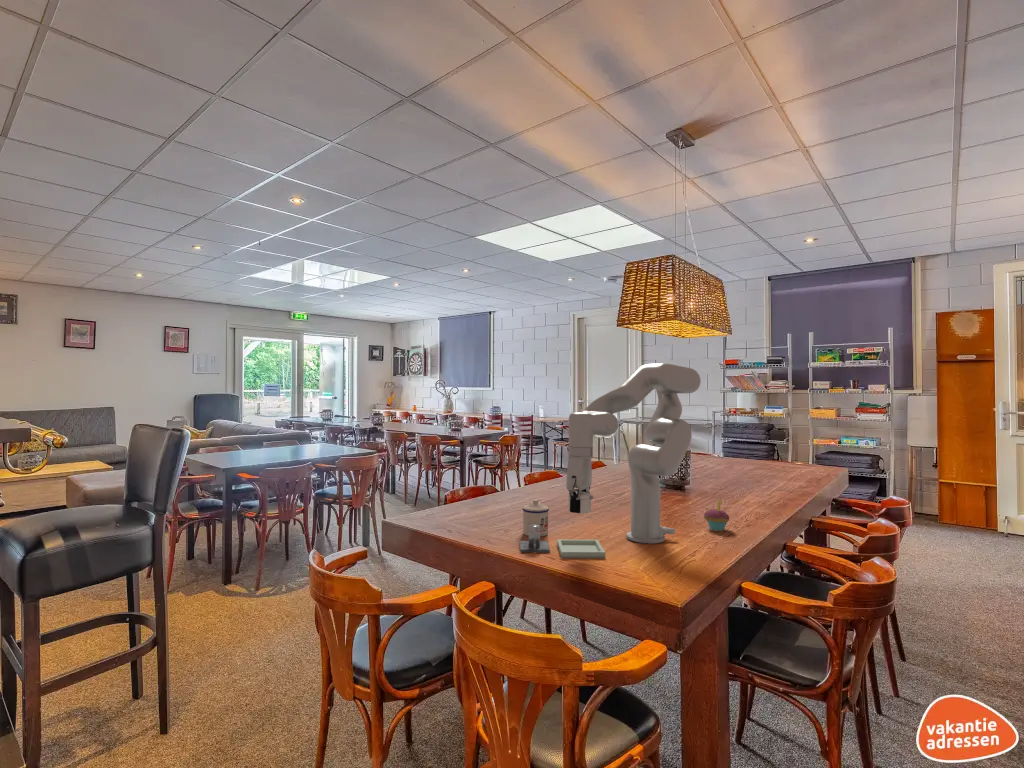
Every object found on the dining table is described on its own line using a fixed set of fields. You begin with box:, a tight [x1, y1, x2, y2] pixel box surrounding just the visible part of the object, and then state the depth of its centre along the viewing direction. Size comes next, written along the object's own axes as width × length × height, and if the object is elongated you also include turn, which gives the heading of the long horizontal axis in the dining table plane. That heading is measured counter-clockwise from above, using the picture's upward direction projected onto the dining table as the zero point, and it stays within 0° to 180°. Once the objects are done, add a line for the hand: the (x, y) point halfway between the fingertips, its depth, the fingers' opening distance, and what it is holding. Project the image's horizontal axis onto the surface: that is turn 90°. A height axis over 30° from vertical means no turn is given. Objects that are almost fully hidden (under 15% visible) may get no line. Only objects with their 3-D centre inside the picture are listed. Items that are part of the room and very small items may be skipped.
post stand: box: [519, 524, 551, 554], centre depth 161 cm, size 9×9×7 cm
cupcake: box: [703, 497, 730, 532], centre depth 185 cm, size 9×8×12 cm
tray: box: [556, 538, 606, 559], centre depth 158 cm, size 13×13×2 cm
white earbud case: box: [567, 492, 594, 514], centre depth 158 cm, size 7×8×5 cm
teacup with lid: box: [522, 499, 550, 537], centre depth 179 cm, size 12×9×12 cm
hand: (579, 509), depth 158 cm, fingers closed on white earbud case, 6 cm apart
